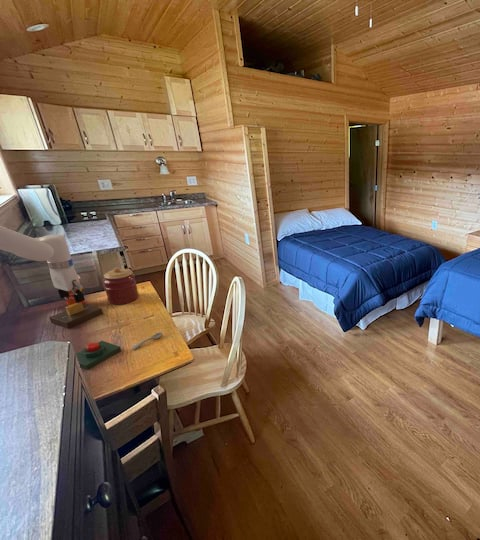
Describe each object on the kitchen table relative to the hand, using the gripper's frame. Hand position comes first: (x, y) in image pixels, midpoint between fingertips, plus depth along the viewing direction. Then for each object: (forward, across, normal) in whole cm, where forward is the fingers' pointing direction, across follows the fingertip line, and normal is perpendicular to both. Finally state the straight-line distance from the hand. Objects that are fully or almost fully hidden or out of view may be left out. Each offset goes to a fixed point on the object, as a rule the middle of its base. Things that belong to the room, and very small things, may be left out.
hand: (72, 299), depth 133 cm
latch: (+7, 0, 0) cm, 7 cm away
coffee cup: (+10, -14, +8) cm, 19 cm away
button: (+6, +34, -15) cm, 38 cm away
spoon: (+10, +43, -1) cm, 44 cm away
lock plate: (+10, 0, 0) cm, 10 cm away
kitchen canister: (+10, 0, +21) cm, 23 cm away
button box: (+10, +34, -15) cm, 39 cm away
